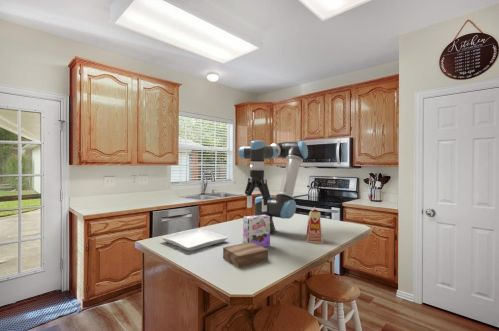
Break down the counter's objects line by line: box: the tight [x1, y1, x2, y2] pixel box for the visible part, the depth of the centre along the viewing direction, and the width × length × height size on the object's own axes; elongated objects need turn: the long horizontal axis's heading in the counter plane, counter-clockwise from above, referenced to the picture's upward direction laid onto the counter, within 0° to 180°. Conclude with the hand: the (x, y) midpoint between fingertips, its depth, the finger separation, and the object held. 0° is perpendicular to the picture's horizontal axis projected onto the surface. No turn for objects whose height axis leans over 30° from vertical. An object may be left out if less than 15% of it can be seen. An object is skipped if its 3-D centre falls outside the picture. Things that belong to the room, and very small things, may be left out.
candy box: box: [242, 215, 271, 248], centre depth 142 cm, size 14×6×16 cm, turn 117°
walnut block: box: [222, 242, 269, 269], centre depth 124 cm, size 14×16×5 cm
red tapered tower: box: [305, 206, 324, 244], centre depth 154 cm, size 9×9×20 cm
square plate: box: [160, 228, 229, 251], centre depth 149 cm, size 27×27×4 cm
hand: (256, 209), depth 142 cm, fingers open, 13 cm apart
